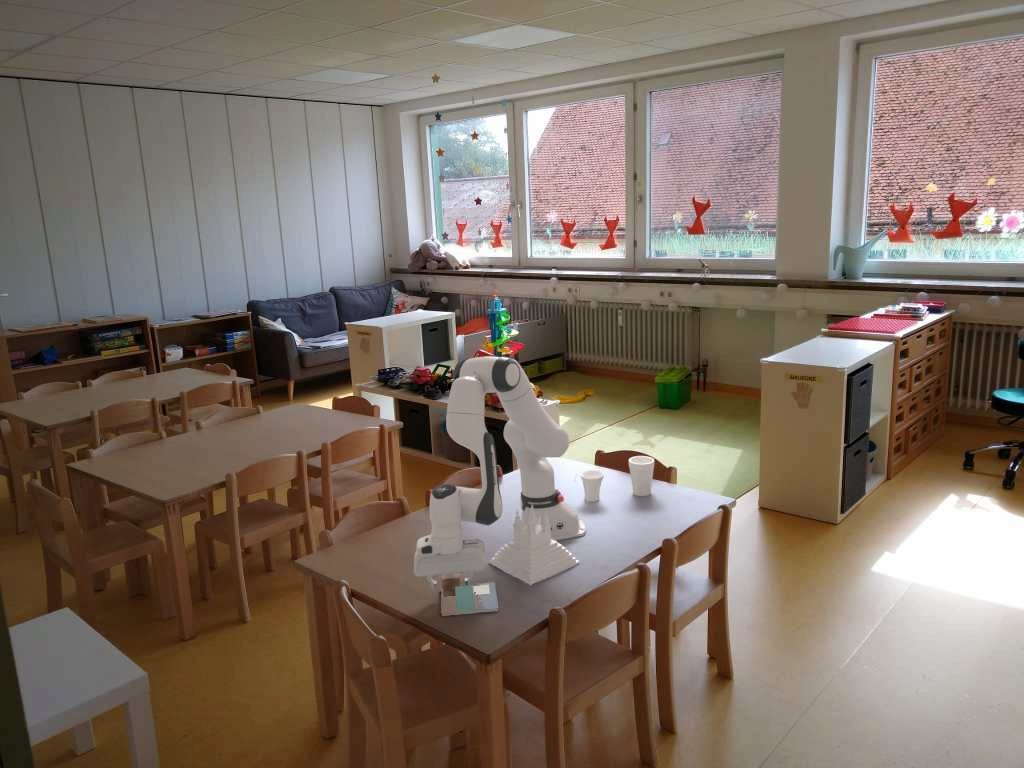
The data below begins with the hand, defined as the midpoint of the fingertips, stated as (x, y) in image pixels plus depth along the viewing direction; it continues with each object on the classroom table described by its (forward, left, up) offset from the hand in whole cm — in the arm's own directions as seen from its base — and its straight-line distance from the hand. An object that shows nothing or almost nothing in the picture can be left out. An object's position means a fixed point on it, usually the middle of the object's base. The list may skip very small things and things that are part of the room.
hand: (450, 586), depth 222 cm
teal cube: (-4, +8, -2) cm, 10 cm away
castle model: (-26, -16, -4) cm, 30 cm away
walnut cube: (0, 0, -2) cm, 2 cm away
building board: (-5, +3, -3) cm, 7 cm away
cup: (-54, -63, -3) cm, 83 cm away
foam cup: (-73, -65, -3) cm, 97 cm away
